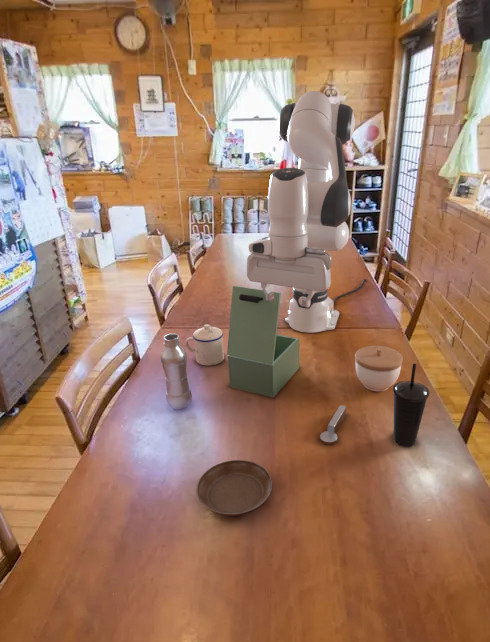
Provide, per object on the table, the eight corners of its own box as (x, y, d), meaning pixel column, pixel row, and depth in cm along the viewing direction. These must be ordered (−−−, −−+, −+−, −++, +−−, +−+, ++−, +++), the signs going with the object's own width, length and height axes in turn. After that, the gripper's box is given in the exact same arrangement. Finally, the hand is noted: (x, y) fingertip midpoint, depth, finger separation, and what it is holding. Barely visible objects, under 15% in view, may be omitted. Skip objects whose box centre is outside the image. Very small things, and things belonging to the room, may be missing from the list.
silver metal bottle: (197, 401, 120) (190, 333, 112) (182, 415, 115) (173, 344, 106) (177, 396, 123) (169, 329, 114) (162, 409, 117) (151, 340, 109)
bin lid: (234, 285, 119) (225, 286, 115) (281, 292, 114) (273, 293, 110) (228, 354, 123) (219, 357, 119) (273, 364, 117) (265, 367, 113)
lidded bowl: (344, 385, 126) (346, 350, 122) (369, 368, 135) (371, 335, 130) (384, 402, 118) (388, 365, 114) (407, 383, 127) (412, 348, 122)
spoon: (335, 413, 115) (335, 403, 114) (350, 416, 113) (351, 407, 112) (317, 442, 105) (317, 432, 103) (333, 446, 103) (334, 436, 102)
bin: (258, 359, 141) (257, 330, 137) (299, 368, 136) (299, 338, 131) (229, 386, 127) (227, 355, 122) (273, 397, 121) (272, 366, 117)
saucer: (204, 468, 97) (203, 458, 96) (273, 469, 97) (273, 459, 96) (191, 524, 84) (189, 513, 83) (270, 525, 83) (270, 514, 82)
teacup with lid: (227, 353, 145) (225, 319, 140) (221, 367, 137) (218, 332, 132) (191, 351, 146) (187, 318, 141) (182, 365, 138) (178, 330, 133)
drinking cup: (422, 433, 107) (433, 358, 98) (420, 454, 100) (432, 376, 92) (389, 427, 109) (397, 353, 100) (385, 446, 103) (394, 370, 94)
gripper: (336, 247, 100) (333, 305, 106) (255, 238, 109) (256, 293, 114) (326, 254, 95) (324, 315, 101) (242, 244, 103) (244, 301, 109)
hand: (287, 303), depth 108 cm, fingers open, 8 cm apart
